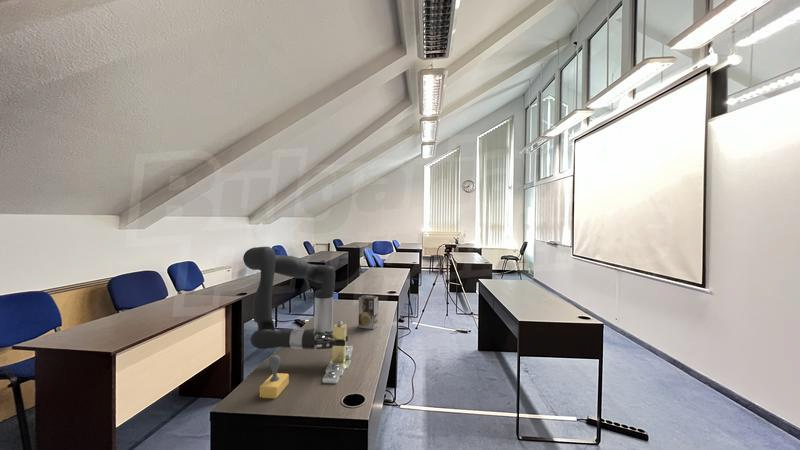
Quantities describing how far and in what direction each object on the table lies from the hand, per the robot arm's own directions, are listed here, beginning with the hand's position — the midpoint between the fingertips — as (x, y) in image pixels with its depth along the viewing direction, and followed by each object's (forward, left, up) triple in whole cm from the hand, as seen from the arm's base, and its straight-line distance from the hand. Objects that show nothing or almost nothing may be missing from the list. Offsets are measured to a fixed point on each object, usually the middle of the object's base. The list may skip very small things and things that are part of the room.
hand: (346, 340), depth 137 cm
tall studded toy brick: (0, -3, -8) cm, 8 cm away
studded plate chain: (0, -3, -9) cm, 10 cm away
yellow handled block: (+22, -20, -10) cm, 31 cm away
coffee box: (-48, +2, -10) cm, 49 cm away
